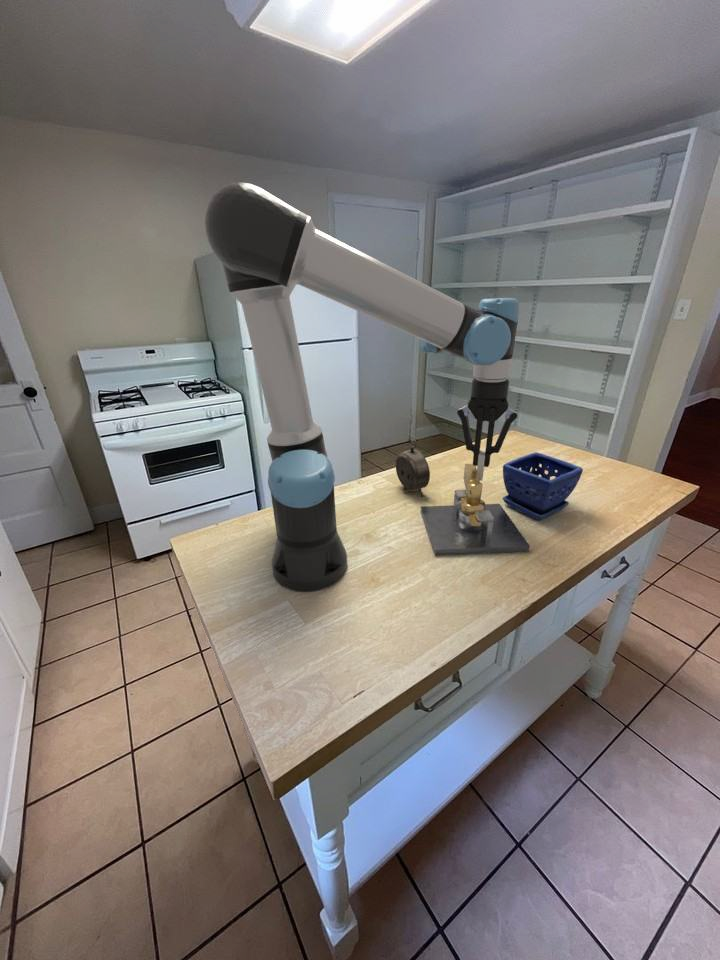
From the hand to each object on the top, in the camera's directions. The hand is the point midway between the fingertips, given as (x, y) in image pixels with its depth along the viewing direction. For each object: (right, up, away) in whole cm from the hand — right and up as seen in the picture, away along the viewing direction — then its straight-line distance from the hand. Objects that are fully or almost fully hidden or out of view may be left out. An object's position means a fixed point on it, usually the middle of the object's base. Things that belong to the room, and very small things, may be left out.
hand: (479, 477), depth 92 cm
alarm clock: (-15, -4, +15) cm, 21 cm away
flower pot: (+16, -8, +6) cm, 18 cm away
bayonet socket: (-3, -12, -3) cm, 13 cm away
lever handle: (-3, -6, -3) cm, 8 cm away
